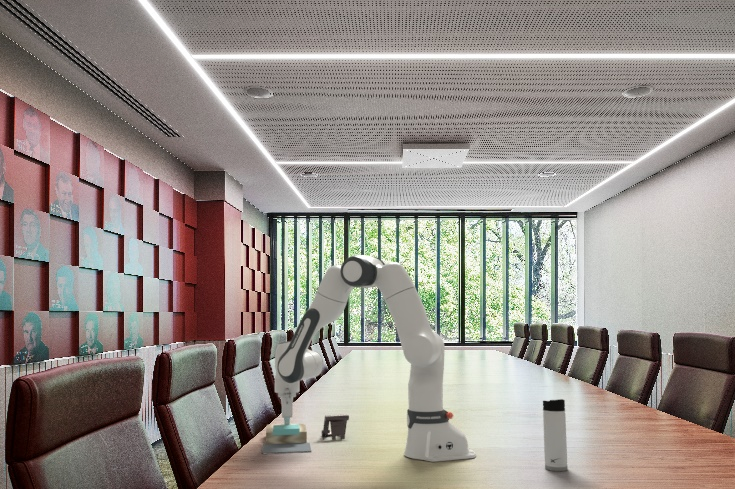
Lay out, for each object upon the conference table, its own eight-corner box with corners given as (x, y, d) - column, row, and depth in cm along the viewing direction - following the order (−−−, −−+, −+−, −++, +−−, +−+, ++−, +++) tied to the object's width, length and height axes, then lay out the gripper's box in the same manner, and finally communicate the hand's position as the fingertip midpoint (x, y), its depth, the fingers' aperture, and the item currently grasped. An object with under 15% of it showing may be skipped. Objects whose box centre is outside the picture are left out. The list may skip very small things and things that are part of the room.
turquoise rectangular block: (299, 430, 217) (299, 424, 217) (299, 434, 211) (299, 428, 211) (273, 430, 216) (273, 425, 216) (272, 435, 210) (273, 429, 210)
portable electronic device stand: (344, 434, 230) (344, 411, 231) (350, 438, 222) (350, 415, 223) (321, 436, 227) (321, 413, 228) (326, 440, 220) (326, 416, 221)
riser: (304, 434, 230) (304, 423, 231) (306, 443, 214) (306, 431, 215) (266, 435, 228) (267, 424, 229) (265, 445, 212) (266, 433, 213)
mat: (309, 443, 214) (309, 442, 214) (311, 452, 201) (311, 450, 201) (262, 445, 212) (262, 444, 212) (261, 453, 199) (261, 452, 199)
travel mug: (555, 472, 174) (553, 400, 176) (540, 467, 180) (537, 397, 182) (573, 470, 176) (570, 399, 178) (557, 465, 182) (554, 396, 184)
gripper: (296, 390, 210) (296, 432, 208) (295, 383, 230) (295, 421, 228) (277, 390, 209) (277, 432, 207) (278, 384, 229) (278, 422, 227)
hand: (286, 426), depth 218 cm, fingers closed
